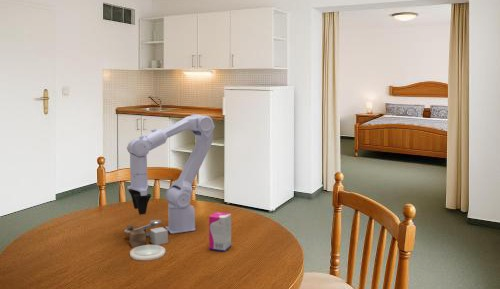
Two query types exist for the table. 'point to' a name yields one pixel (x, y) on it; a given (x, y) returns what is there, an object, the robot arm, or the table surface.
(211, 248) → the supplement box
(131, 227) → the balance
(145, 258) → the dish
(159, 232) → the grey block
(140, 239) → the walnut block
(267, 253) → the table surface
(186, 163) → the robot arm
